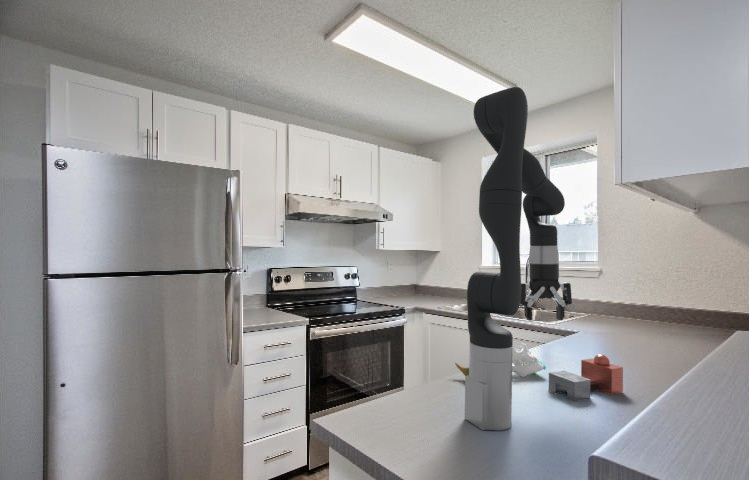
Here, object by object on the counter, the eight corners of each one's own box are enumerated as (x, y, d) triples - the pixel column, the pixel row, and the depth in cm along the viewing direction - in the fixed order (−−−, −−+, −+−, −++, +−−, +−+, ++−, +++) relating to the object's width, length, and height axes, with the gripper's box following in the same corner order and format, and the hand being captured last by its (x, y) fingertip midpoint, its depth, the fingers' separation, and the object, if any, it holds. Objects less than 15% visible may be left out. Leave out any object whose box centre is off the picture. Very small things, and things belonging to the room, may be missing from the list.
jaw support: (541, 372, 108) (516, 344, 113) (518, 390, 111) (495, 362, 116) (551, 363, 118) (528, 338, 123) (530, 380, 121) (508, 355, 126)
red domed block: (597, 398, 98) (597, 361, 98) (567, 386, 106) (567, 353, 106) (622, 392, 102) (622, 358, 103) (592, 382, 111) (592, 350, 111)
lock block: (574, 401, 95) (574, 382, 95) (548, 390, 102) (548, 372, 103) (590, 398, 98) (590, 379, 98) (563, 388, 105) (563, 370, 105)
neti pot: (497, 392, 100) (497, 367, 101) (450, 377, 111) (451, 355, 111) (504, 388, 103) (505, 364, 104) (458, 374, 114) (459, 353, 114)
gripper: (524, 263, 99) (524, 323, 99) (576, 262, 99) (577, 322, 99) (513, 261, 107) (514, 317, 107) (562, 261, 107) (562, 316, 107)
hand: (544, 319), depth 103 cm, fingers open, 8 cm apart
